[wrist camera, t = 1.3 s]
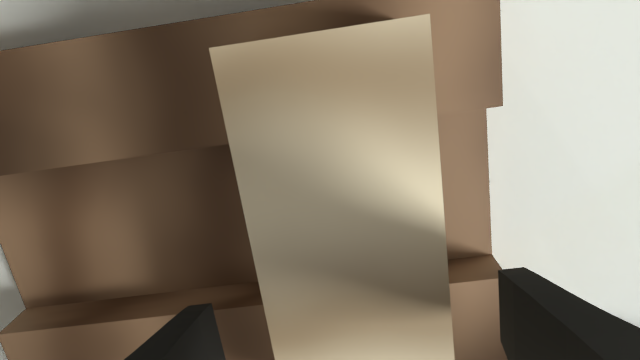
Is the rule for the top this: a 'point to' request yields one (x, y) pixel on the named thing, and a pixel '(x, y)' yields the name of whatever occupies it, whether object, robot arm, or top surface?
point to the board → (200, 180)
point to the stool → (342, 189)
